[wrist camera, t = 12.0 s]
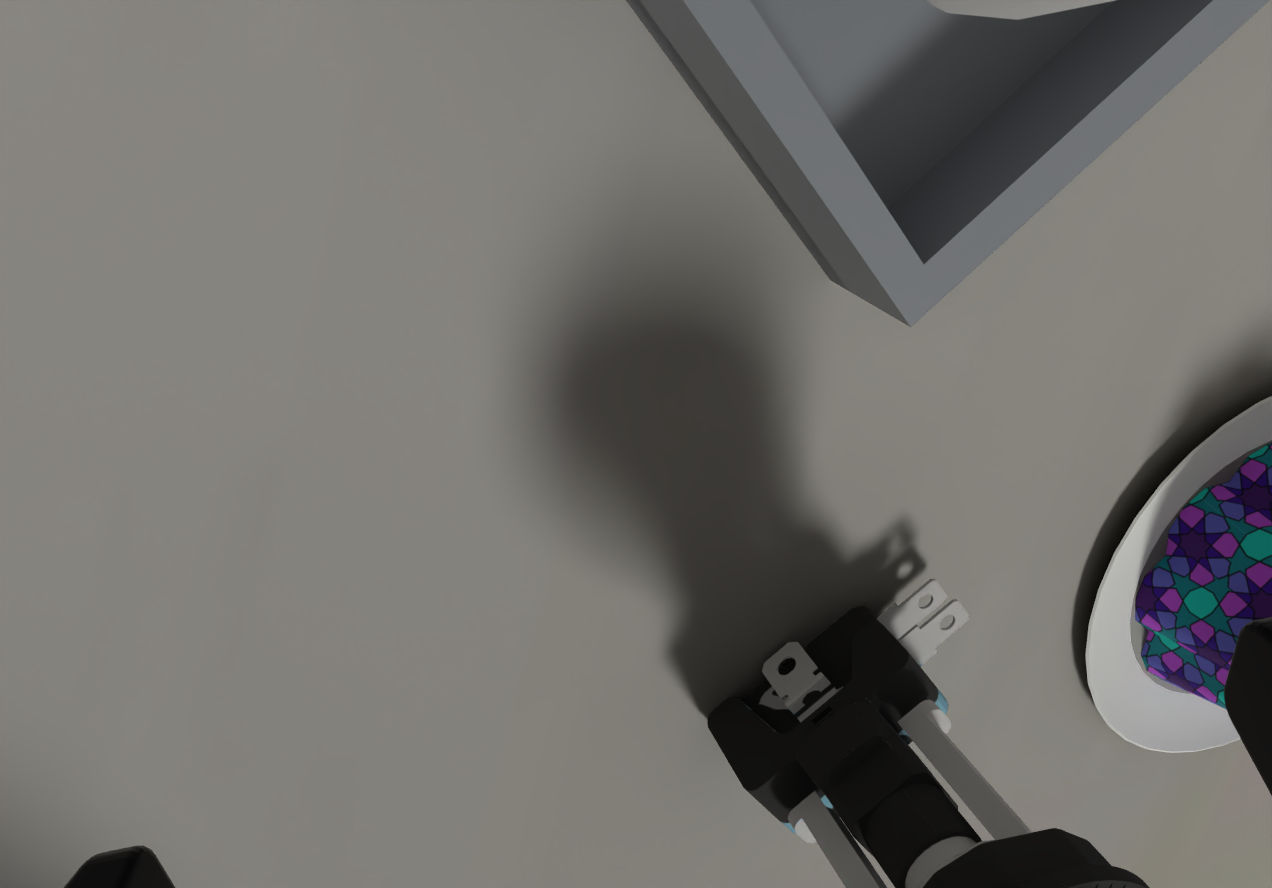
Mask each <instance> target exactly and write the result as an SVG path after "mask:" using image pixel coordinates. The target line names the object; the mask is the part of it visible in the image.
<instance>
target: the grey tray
mask: <svg viewBox="0 0 1272 888" xmlns="http://www.w3.org/2000/svg"><path fill="white" fill-rule="evenodd" d="M626 1H627V2H628V3H629V5H630V6H631V7H632V9H633V10H634V12H635V13H636V14H637V16H638V17H639V18H640V20H641V21H642V22H643V24H644V25H645V27H646V28H647V29H648V31H649V32H650V33H651V35H652V36H653V38H654V39H655V40H656V42H657V43H658V44H659V46H660V47H661V48H662V50H663V51H664V53H665V54H666V55H667V57H668V58H669V59H670V61H671V62H672V64H673V65H674V66H675V68H676V69H677V70H678V72H679V73H680V75H681V76H682V77H683V79H684V80H685V81H686V83H687V84H688V85H689V87H690V88H691V90H692V91H693V92H694V94H695V95H696V96H697V98H698V99H699V101H700V102H701V103H702V105H703V106H704V107H705V109H706V110H707V112H708V113H709V114H710V116H711V117H712V118H713V120H714V121H715V122H716V124H717V125H718V127H719V128H720V129H721V131H722V132H723V133H724V135H725V136H726V138H727V139H728V140H729V142H730V143H731V144H732V146H733V147H734V148H735V150H736V151H737V153H738V154H739V155H740V157H741V158H742V159H743V161H744V162H745V164H746V165H747V166H748V168H749V169H750V170H751V172H752V173H753V175H754V176H755V177H756V179H757V180H758V181H759V183H760V184H761V185H762V187H763V188H764V190H765V191H766V192H767V194H768V195H769V196H770V198H771V199H772V201H773V202H774V203H775V205H776V206H777V207H778V209H779V210H780V212H781V213H782V214H783V216H784V217H785V218H786V220H787V221H788V222H789V224H790V225H791V227H792V228H793V229H794V231H795V232H796V233H797V235H798V236H799V238H800V239H801V240H802V242H803V243H804V244H805V246H806V247H807V248H808V250H809V251H810V253H811V254H812V255H813V257H814V258H815V259H816V261H817V262H818V264H819V265H820V266H821V268H822V269H823V270H824V272H825V273H826V275H827V276H828V277H829V279H830V280H831V281H833V282H835V283H836V284H838V285H840V286H841V287H843V288H845V289H847V290H848V291H850V292H852V293H853V294H855V295H857V296H859V297H860V298H862V299H864V300H865V301H867V302H869V303H870V304H872V305H874V306H876V307H877V308H879V309H881V310H882V311H884V312H886V313H888V314H889V315H891V316H893V317H894V318H896V319H898V320H899V321H901V322H903V323H905V324H906V325H908V326H910V327H912V326H913V325H914V324H915V323H916V322H917V321H918V320H919V319H920V318H921V317H923V316H924V315H925V314H926V313H927V312H928V311H929V310H930V309H931V308H932V307H934V306H935V305H936V304H937V303H938V302H939V301H940V300H941V299H942V298H943V297H944V296H946V295H947V294H948V293H949V292H950V291H951V290H952V289H953V288H954V287H955V286H957V285H958V284H959V283H960V282H961V281H962V280H963V279H964V278H965V277H966V276H968V275H969V274H970V273H971V272H972V271H973V270H974V269H975V268H976V267H977V266H979V265H980V264H981V263H982V262H983V261H984V260H985V259H986V258H987V257H988V256H989V255H991V254H992V253H993V252H994V251H995V250H996V249H997V248H998V247H999V246H1000V245H1002V244H1003V243H1004V242H1005V241H1006V240H1007V239H1008V238H1009V237H1010V236H1011V235H1013V234H1014V233H1015V232H1016V231H1017V230H1018V229H1019V228H1020V227H1021V226H1022V225H1024V224H1025V223H1026V222H1027V221H1028V220H1029V219H1030V218H1031V217H1032V216H1033V215H1034V214H1036V213H1037V212H1038V211H1039V210H1040V209H1041V208H1042V207H1043V206H1044V205H1045V204H1047V203H1048V202H1049V201H1050V200H1051V199H1052V198H1053V197H1054V196H1055V195H1056V194H1058V193H1059V192H1060V191H1061V190H1062V189H1063V188H1064V187H1065V186H1066V185H1067V184H1069V183H1070V182H1071V181H1072V180H1073V179H1074V178H1075V177H1076V176H1077V175H1078V174H1079V173H1081V172H1082V171H1083V170H1084V169H1085V168H1086V167H1087V166H1088V165H1089V164H1090V163H1092V162H1093V161H1094V160H1095V159H1096V158H1097V157H1098V156H1099V155H1100V154H1101V153H1103V152H1104V151H1105V150H1106V149H1107V148H1108V147H1109V146H1110V145H1111V144H1112V143H1114V142H1115V141H1116V140H1117V139H1118V138H1119V137H1120V136H1121V135H1122V134H1123V133H1124V132H1126V131H1127V130H1128V129H1129V128H1130V127H1131V126H1132V125H1133V124H1134V123H1135V122H1137V121H1138V120H1139V119H1140V118H1141V117H1142V116H1143V115H1144V114H1145V113H1146V112H1148V111H1149V110H1150V109H1151V108H1152V107H1153V106H1154V105H1155V104H1156V103H1157V102H1159V101H1160V100H1161V99H1162V98H1163V97H1164V96H1165V95H1166V94H1167V93H1168V92H1169V91H1171V90H1172V89H1173V88H1174V87H1175V86H1176V85H1177V84H1178V83H1179V82H1180V81H1182V80H1183V79H1184V78H1185V77H1186V76H1187V75H1188V74H1189V73H1190V72H1191V71H1193V70H1194V69H1195V68H1196V67H1197V66H1198V65H1199V64H1200V63H1201V62H1202V61H1204V60H1205V59H1206V58H1207V57H1208V56H1209V55H1210V54H1211V53H1212V52H1213V51H1214V50H1216V49H1217V48H1218V47H1219V46H1220V45H1221V44H1222V43H1223V42H1224V41H1225V40H1227V39H1228V38H1229V37H1230V36H1231V35H1232V34H1233V33H1234V32H1235V31H1236V30H1238V29H1239V28H1240V27H1241V26H1242V25H1243V24H1244V23H1245V22H1246V21H1247V20H1249V19H1250V18H1251V17H1252V16H1253V15H1254V14H1255V13H1256V12H1257V11H1258V10H1259V9H1261V8H1262V7H1263V6H1264V5H1265V4H1266V3H1267V2H1268V1H1269V0H1116V1H1111V2H1106V3H1101V4H1096V5H1090V6H1085V7H1080V8H1075V9H1070V10H1065V11H1060V12H1055V13H1050V14H1045V15H1040V16H1034V17H1029V18H1024V19H1019V20H1015V19H1005V18H994V17H984V16H973V15H963V14H952V13H946V12H944V11H942V10H940V9H938V8H936V7H934V6H932V5H930V4H929V3H927V2H926V1H924V0H626Z"/></svg>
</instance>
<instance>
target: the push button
mask: <svg viewBox="0 0 1272 888" xmlns="http://www.w3.org/2000/svg"><path fill="white" fill-rule="evenodd" d="M925 594H930V595H931V601H930V603H929V604H928V605H926V606H925V607H919V606H918V602H919V599H920V598H921V597H922V596H924V595H925ZM946 598H947V594H946V593H945V592H944V590H943V589H942V587H941V586H940V585H939V583H938V582H937V581H936V580H935V579H930V580H929V581H927V582H926V583H925V584H924V585H923V586H921V587H920V588H919V589H918V590H917V591H915V592H914V593H913V594H912V595H911V596H910V597H908V598H907V599H906V600H905V601H904V602H902V603H901V604H900V605H899V606H897V604H896V603H894V604H893V605H892V606H891V607H889V608H888V609H887V610H886V611H885V612H883V613H882V614H881V615H880V616H879V617H877V618H875V617H874V615H873V614H872V613H871V612H870V611H869V610H868V609H867V608H865V607H862V606H861V607H855V608H853V609H852V610H850V611H849V612H848V613H846V614H845V615H844V616H843V617H842V618H841V619H839V620H838V621H837V622H836V623H835V624H833V625H832V626H831V627H830V628H829V629H827V630H826V631H825V632H824V633H823V634H821V635H820V636H819V637H818V638H817V639H816V640H814V641H813V642H812V643H811V644H810V645H808V646H807V647H806V648H805V649H803V648H802V647H801V646H800V644H799V643H798V642H788V643H787V644H786V645H785V646H784V647H782V648H781V649H780V650H779V651H778V652H776V653H775V654H774V655H773V656H772V657H770V658H769V659H768V660H767V661H766V662H765V663H764V665H763V669H762V673H763V674H764V675H765V677H766V678H767V681H766V682H764V683H763V684H762V685H761V686H760V687H758V688H757V689H756V690H755V691H754V692H752V693H751V694H750V695H749V696H748V697H746V698H745V699H744V700H743V701H741V700H740V699H739V698H736V697H733V698H729V699H727V700H726V701H725V702H723V703H722V704H721V705H720V706H719V707H717V708H716V709H715V710H714V711H713V712H712V713H711V714H710V716H709V718H708V728H709V730H710V731H711V733H712V735H713V736H714V738H715V740H716V741H717V743H718V745H719V747H720V748H721V750H722V752H723V753H724V755H725V757H726V758H727V760H728V762H729V764H730V765H731V767H732V769H733V770H734V772H735V774H736V775H737V777H738V779H739V781H740V782H741V784H742V786H743V787H744V788H745V789H746V790H747V791H748V792H749V793H750V794H751V795H752V796H753V797H754V798H755V799H756V800H758V801H759V802H760V803H761V804H762V805H763V806H764V807H765V808H766V809H767V810H768V811H769V812H771V813H772V814H773V815H774V816H775V817H776V818H777V819H778V820H779V821H780V822H782V823H783V824H784V825H785V826H786V827H787V828H788V829H790V830H791V831H792V832H793V833H797V834H798V835H799V836H800V837H801V838H802V839H803V840H804V841H805V842H808V843H815V842H816V841H817V843H818V844H819V846H820V848H821V849H822V851H823V852H824V854H825V855H826V857H827V859H828V860H829V862H830V863H831V865H832V866H833V868H834V870H835V871H836V873H837V874H838V876H839V877H840V879H841V881H842V882H843V884H844V885H845V887H846V888H887V887H886V885H885V884H884V882H883V881H882V879H881V878H880V876H879V875H878V874H877V872H876V871H875V869H874V868H873V866H872V865H871V863H870V862H869V860H868V859H867V857H866V856H865V854H864V853H863V851H862V850H861V848H860V847H859V845H858V844H857V843H856V841H855V840H854V838H855V839H856V840H857V841H858V842H859V843H860V844H861V845H862V846H863V847H864V848H865V849H866V850H867V851H868V852H869V853H871V854H872V855H873V856H874V857H875V859H876V860H877V862H878V863H879V864H880V866H881V867H882V869H883V870H884V872H885V873H886V875H887V876H888V878H889V879H890V881H891V882H892V883H893V885H894V886H895V888H1149V887H1148V886H1147V884H1146V883H1145V882H1144V881H1143V880H1142V879H1140V878H1139V877H1138V876H1136V875H1135V874H1133V873H1131V872H1129V871H1127V870H1125V869H1121V868H1118V867H1113V866H1111V865H1110V864H1109V863H1108V861H1107V860H1106V859H1105V858H1104V857H1103V856H1102V855H1101V854H1100V853H1099V852H1098V851H1097V850H1096V849H1095V848H1094V846H1093V845H1092V844H1091V843H1090V842H1089V841H1087V840H1085V839H1083V838H1080V837H1078V836H1075V835H1073V834H1070V833H1068V832H1065V831H1063V830H1061V829H1056V828H1053V829H1047V830H1042V831H1038V832H1033V833H1032V832H1031V831H1030V829H1029V828H1028V827H1027V826H1026V825H1025V824H1024V823H1023V822H1022V820H1021V819H1020V818H1019V817H1018V816H1017V815H1016V814H1015V812H1014V811H1013V810H1012V809H1011V808H1010V807H1009V806H1008V804H1007V803H1006V802H1005V801H1004V800H1003V799H1002V798H1001V797H1000V795H999V794H998V793H997V792H996V791H995V790H994V789H993V787H992V786H991V785H990V784H989V783H988V782H987V781H986V780H985V778H984V777H983V776H982V775H981V774H980V773H979V772H978V770H977V769H976V768H975V767H974V766H973V765H972V764H971V763H970V761H969V760H968V759H967V758H966V757H965V756H964V755H963V753H962V752H961V751H960V750H959V749H958V748H957V747H956V745H955V744H954V743H953V742H952V741H951V740H950V739H949V738H948V736H947V735H946V734H947V733H948V732H949V730H950V728H951V722H950V720H949V719H948V718H947V717H946V715H945V713H946V712H947V709H948V703H947V700H946V698H945V697H944V696H943V695H942V693H941V692H940V691H939V690H938V688H937V687H936V686H935V685H934V683H933V682H932V681H931V680H930V679H929V677H928V676H927V675H926V674H925V672H924V671H923V670H922V669H921V667H920V666H921V665H923V664H924V663H925V662H926V661H927V660H929V659H930V658H931V657H932V656H933V655H935V654H936V653H937V650H936V649H935V648H936V647H937V646H938V645H940V644H941V643H942V642H943V641H944V640H946V639H947V638H948V637H949V636H950V635H952V634H953V633H954V632H955V631H956V630H958V629H959V628H960V627H961V626H962V625H963V624H965V623H966V622H967V621H968V620H969V615H968V613H967V612H966V611H965V609H964V608H963V606H962V605H961V604H960V602H959V601H958V600H957V599H955V600H951V601H950V602H949V603H948V604H947V605H945V606H944V607H943V608H942V609H941V610H939V611H938V612H937V613H936V614H935V615H933V616H932V617H931V618H930V619H929V620H928V621H926V622H925V623H924V624H923V625H922V626H920V627H918V626H917V625H916V624H917V623H919V622H920V621H921V620H922V619H923V618H925V617H926V616H927V615H928V614H929V613H931V612H932V611H933V610H934V609H935V608H936V607H938V606H939V605H940V604H941V603H942V602H944V601H945V600H946ZM948 615H952V616H953V622H952V623H951V625H950V626H948V627H947V628H943V629H942V628H940V622H941V620H942V619H943V618H944V617H946V616H948ZM789 658H792V660H791V661H789V662H788V663H787V664H786V665H785V666H783V667H782V668H781V669H780V670H779V667H780V664H781V663H782V662H783V661H785V660H786V659H789ZM912 741H914V743H915V744H916V745H917V746H918V747H919V749H920V750H921V751H922V752H923V753H924V755H925V756H926V757H927V758H928V760H929V761H930V762H931V763H932V764H933V766H934V767H935V768H936V769H937V770H938V772H939V773H940V774H941V775H942V776H943V778H944V779H945V780H946V781H947V782H948V784H949V785H950V786H951V787H952V788H953V790H954V791H955V792H956V793H957V794H958V796H959V797H960V798H961V799H962V800H963V802H964V803H965V804H966V805H967V806H968V808H969V809H970V810H971V811H972V812H973V814H974V815H975V816H976V817H977V818H978V820H979V821H980V822H981V823H982V824H983V826H984V827H985V828H986V829H987V830H988V832H989V833H990V834H991V835H992V836H993V838H994V839H995V840H990V841H982V840H981V838H980V837H979V836H978V834H977V833H976V832H975V831H974V830H973V828H972V827H971V826H970V825H969V823H968V822H967V821H966V820H965V819H964V817H963V816H962V815H961V814H960V812H959V811H958V806H957V804H956V803H955V802H954V801H953V799H952V798H951V797H950V796H949V794H948V793H947V792H946V791H945V790H944V788H943V787H942V786H941V785H940V783H939V782H938V781H937V780H936V779H935V777H934V776H933V775H932V773H931V772H930V771H929V769H928V768H927V767H926V766H925V765H924V763H923V762H922V761H921V760H920V759H919V757H918V756H917V755H916V754H915V752H914V751H913V750H912V749H911V748H910V747H909V746H908V744H910V743H911V742H912ZM840 818H841V819H842V820H841V819H840ZM842 821H843V822H844V823H843V822H842ZM844 824H845V825H846V826H847V828H848V829H849V831H850V832H851V834H852V835H853V837H854V838H853V837H852V835H851V834H850V832H849V831H848V829H847V828H846V826H845V825H844Z"/></svg>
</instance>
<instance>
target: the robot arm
mask: <svg viewBox="0 0 1272 888" xmlns="http://www.w3.org/2000/svg"><path fill="white" fill-rule="evenodd" d="M1224 700H1225V706H1226V709H1227V712H1228V715H1229V717H1230V719H1231V722H1232V723H1233V725H1234V727H1235V729H1236V731H1237V733H1238V734H1239V736H1240V738H1241V740H1242V742H1243V744H1244V745H1245V747H1246V749H1247V751H1248V753H1249V755H1250V756H1251V758H1252V760H1253V762H1254V764H1255V766H1256V767H1257V769H1258V771H1259V773H1260V775H1261V777H1262V778H1263V780H1264V782H1265V784H1266V786H1267V788H1268V789H1269V791H1270V793H1271V795H1272V617H1270V618H1265V619H1260V620H1255V621H1251V622H1249V623H1247V624H1246V625H1245V626H1244V627H1243V628H1242V629H1241V631H1240V633H1239V635H1238V639H1237V643H1236V646H1235V650H1234V654H1233V657H1232V661H1231V665H1230V668H1229V672H1228V676H1227V679H1226V683H1225V687H1224ZM64 888H175V886H174V885H173V883H172V881H171V880H170V878H169V877H168V875H167V873H166V872H165V870H164V868H163V867H162V865H161V863H160V862H159V860H158V858H157V857H156V855H155V854H154V853H153V851H152V850H151V849H149V848H147V847H145V846H133V847H128V848H123V849H118V850H113V851H108V852H103V853H100V854H97V855H94V856H93V857H91V858H90V859H89V860H87V861H86V862H85V863H84V864H83V865H82V866H81V867H80V868H79V869H78V871H77V872H76V873H75V874H74V876H73V877H72V878H71V879H70V881H69V882H68V883H67V884H66V886H65V887H64Z"/></svg>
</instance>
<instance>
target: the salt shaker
mask: <svg viewBox="0 0 1272 888" xmlns="http://www.w3.org/2000/svg"><path fill="white" fill-rule="evenodd" d="M924 1H926V2H927V3H929V4H930V5H932V6H934V7H936V8H938V9H940V10H942V11H944V12H946V13H952V14H963V15H973V16H984V17H994V18H1005V19H1015V20H1019V19H1024V18H1029V17H1034V16H1040V15H1045V14H1050V13H1055V12H1060V11H1065V10H1070V9H1075V8H1080V7H1085V6H1090V5H1096V4H1101V3H1106V2H1111V1H1116V0H924Z"/></svg>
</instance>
